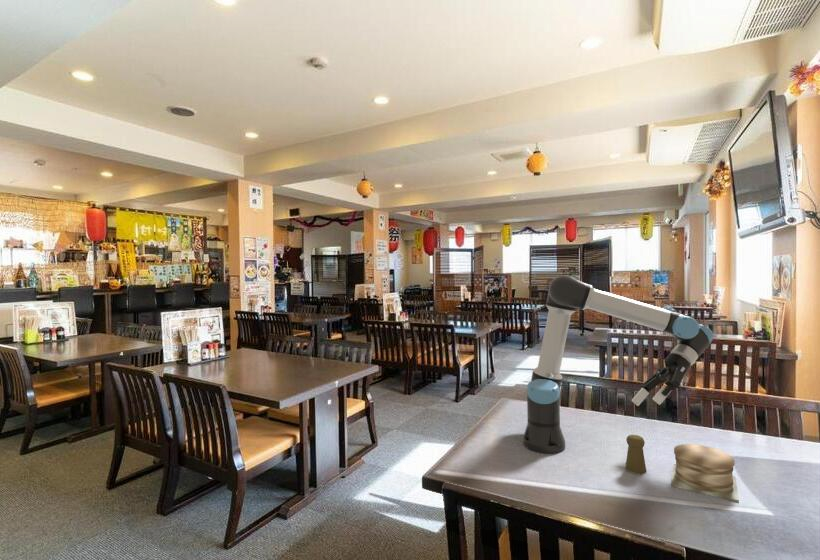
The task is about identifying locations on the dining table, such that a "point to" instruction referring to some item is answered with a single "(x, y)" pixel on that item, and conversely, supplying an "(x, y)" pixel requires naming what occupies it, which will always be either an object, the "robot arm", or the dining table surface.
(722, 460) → the stack of pancakes
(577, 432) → the dining table surface
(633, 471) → the cork
